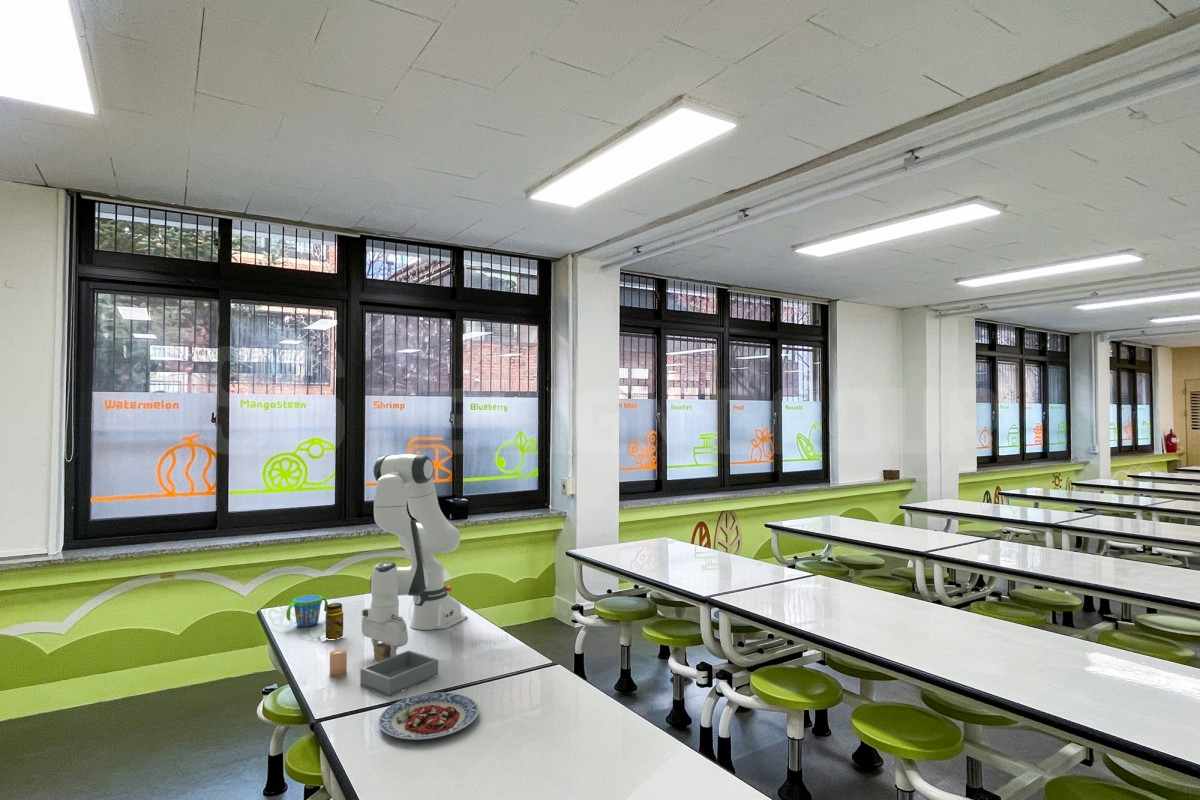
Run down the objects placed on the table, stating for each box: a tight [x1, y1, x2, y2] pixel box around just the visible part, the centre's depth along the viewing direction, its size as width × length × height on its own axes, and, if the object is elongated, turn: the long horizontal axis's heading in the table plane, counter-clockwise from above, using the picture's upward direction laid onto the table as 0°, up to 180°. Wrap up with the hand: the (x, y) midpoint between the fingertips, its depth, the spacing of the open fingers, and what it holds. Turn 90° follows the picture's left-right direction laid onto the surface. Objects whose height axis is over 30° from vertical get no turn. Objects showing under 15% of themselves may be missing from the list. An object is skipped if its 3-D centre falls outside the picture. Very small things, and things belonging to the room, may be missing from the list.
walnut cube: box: [373, 642, 391, 662], centre depth 214 cm, size 5×5×5 cm
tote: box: [359, 650, 439, 698], centre depth 197 cm, size 18×14×5 cm
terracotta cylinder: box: [329, 648, 348, 679], centre depth 202 cm, size 5×5×7 cm
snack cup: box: [285, 594, 329, 628], centre depth 250 cm, size 16×10×10 cm
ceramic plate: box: [378, 692, 480, 740], centre depth 171 cm, size 26×26×3 cm
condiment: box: [325, 602, 344, 639], centre depth 235 cm, size 7×8×12 cm
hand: (384, 654), depth 214 cm, fingers open, 7 cm apart
